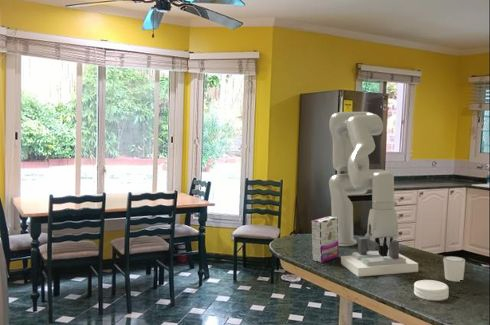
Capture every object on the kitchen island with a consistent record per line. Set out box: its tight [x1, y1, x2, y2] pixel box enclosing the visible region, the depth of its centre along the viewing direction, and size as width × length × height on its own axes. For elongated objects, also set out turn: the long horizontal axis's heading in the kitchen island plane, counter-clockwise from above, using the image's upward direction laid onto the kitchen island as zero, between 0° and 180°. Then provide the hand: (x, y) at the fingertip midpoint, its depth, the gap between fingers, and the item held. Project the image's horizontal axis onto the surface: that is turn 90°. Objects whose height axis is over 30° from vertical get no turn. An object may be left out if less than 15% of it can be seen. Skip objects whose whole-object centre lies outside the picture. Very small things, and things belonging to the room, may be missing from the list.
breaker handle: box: [388, 239, 400, 258], centre depth 169 cm, size 3×2×6 cm
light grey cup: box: [443, 255, 466, 282], centre depth 158 cm, size 7×7×7 cm
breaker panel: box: [340, 236, 419, 277], centre depth 173 cm, size 16×23×10 cm
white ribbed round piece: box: [413, 279, 450, 302], centre depth 144 cm, size 10×10×4 cm
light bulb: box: [363, 231, 378, 252], centre depth 189 cm, size 6×6×10 cm
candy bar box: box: [311, 215, 340, 263], centre depth 186 cm, size 11×5×16 cm, turn 131°
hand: (383, 255), depth 169 cm, fingers closed
